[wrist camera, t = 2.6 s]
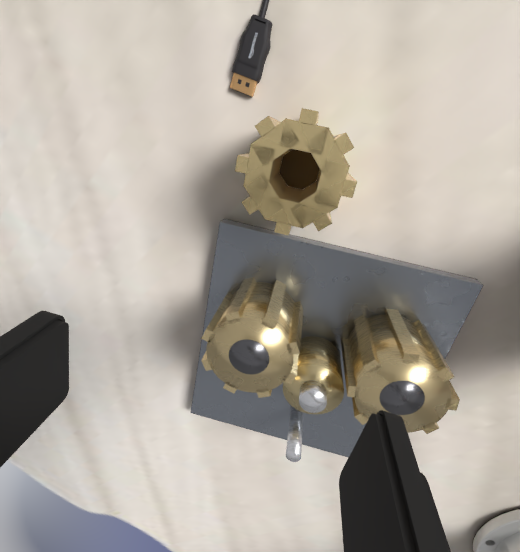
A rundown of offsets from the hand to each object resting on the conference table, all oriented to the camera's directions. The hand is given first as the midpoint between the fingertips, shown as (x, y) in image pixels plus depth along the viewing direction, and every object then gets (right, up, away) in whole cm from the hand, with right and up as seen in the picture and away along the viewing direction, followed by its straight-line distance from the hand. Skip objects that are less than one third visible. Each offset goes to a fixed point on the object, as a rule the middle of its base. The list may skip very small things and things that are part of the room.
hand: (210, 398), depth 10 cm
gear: (+4, +12, +14) cm, 19 cm away
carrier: (+6, -3, +20) cm, 21 cm away
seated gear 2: (+12, -2, +17) cm, 21 cm away
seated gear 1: (+2, 0, +18) cm, 18 cm away
